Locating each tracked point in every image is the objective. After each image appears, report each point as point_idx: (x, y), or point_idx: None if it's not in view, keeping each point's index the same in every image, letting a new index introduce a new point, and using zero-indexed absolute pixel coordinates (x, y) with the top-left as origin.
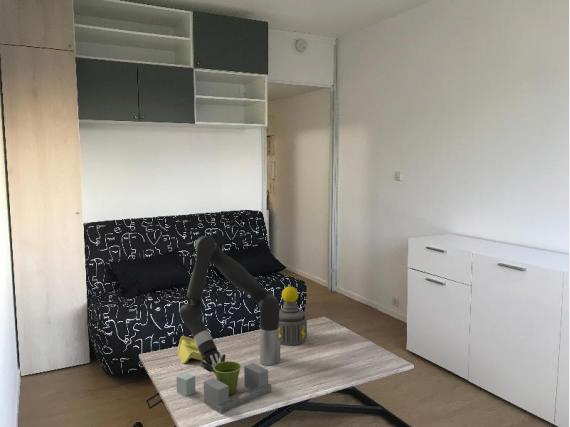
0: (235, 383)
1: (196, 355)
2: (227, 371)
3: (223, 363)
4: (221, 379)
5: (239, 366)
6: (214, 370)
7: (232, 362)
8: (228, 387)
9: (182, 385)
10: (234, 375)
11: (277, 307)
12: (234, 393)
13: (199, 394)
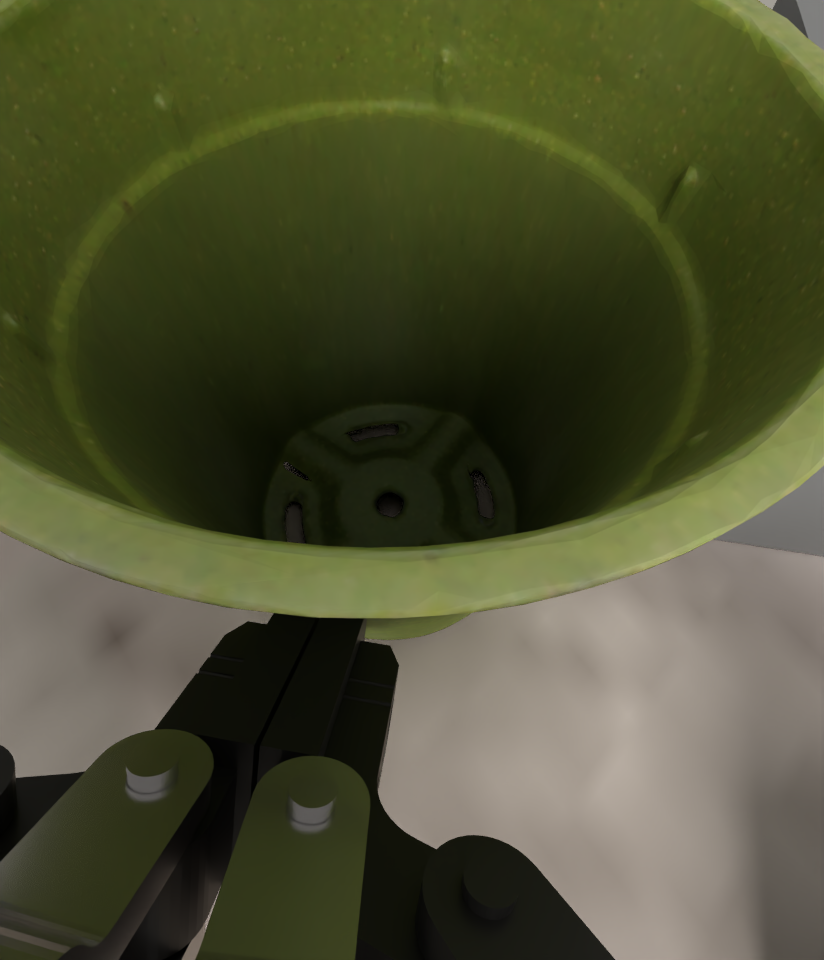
0: (371, 270)
1: None
2: (166, 498)
3: (86, 486)
4: (641, 285)
5: (83, 22)
6: (406, 835)
7: None
8: (774, 9)
9: None
10: (441, 63)
11: None
12: (371, 407)
13: (763, 851)
